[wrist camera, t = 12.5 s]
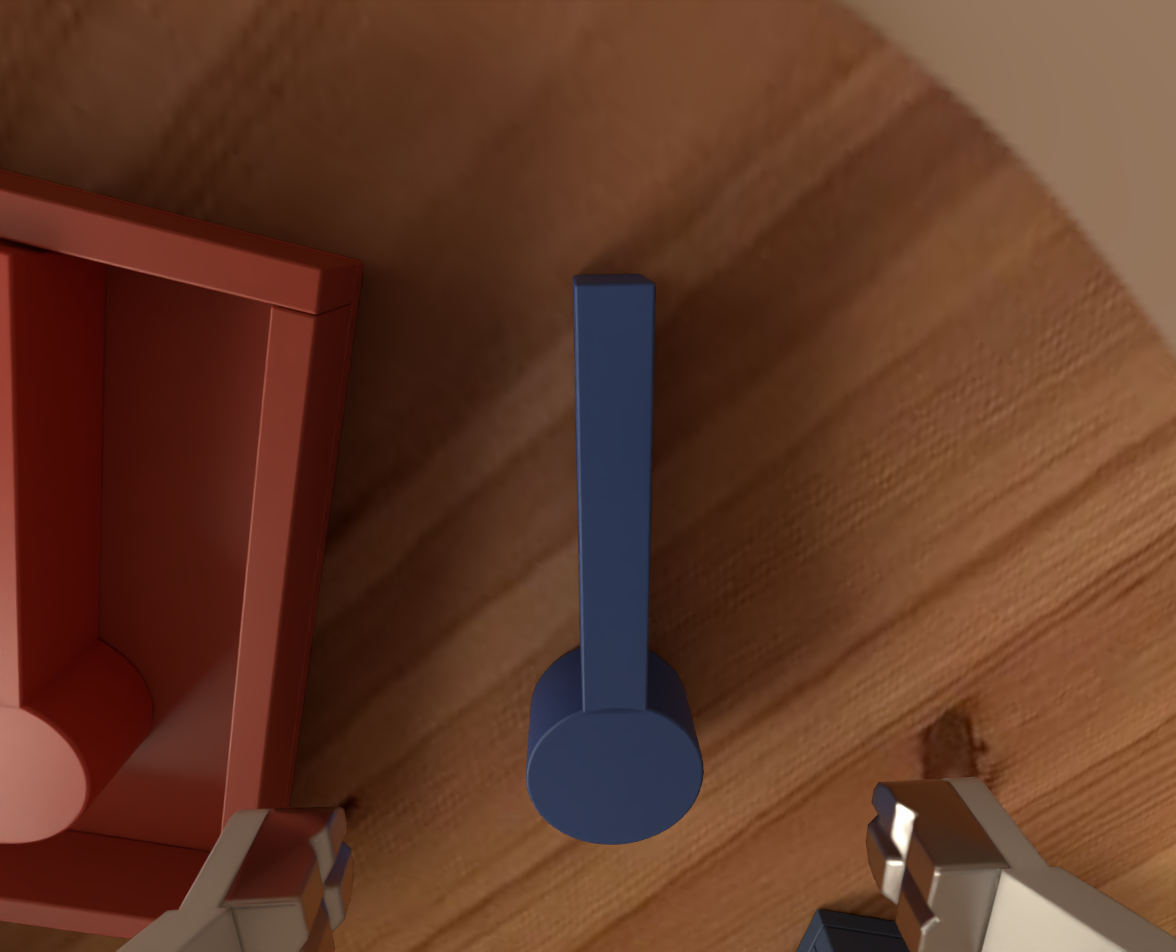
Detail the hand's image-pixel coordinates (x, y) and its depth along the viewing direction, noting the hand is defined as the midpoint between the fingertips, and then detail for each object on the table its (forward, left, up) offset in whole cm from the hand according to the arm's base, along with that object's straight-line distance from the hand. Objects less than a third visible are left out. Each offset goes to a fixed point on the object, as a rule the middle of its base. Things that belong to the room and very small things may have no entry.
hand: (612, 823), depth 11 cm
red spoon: (+1, -12, -6) cm, 13 cm away
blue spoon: (-1, 0, -6) cm, 7 cm away
